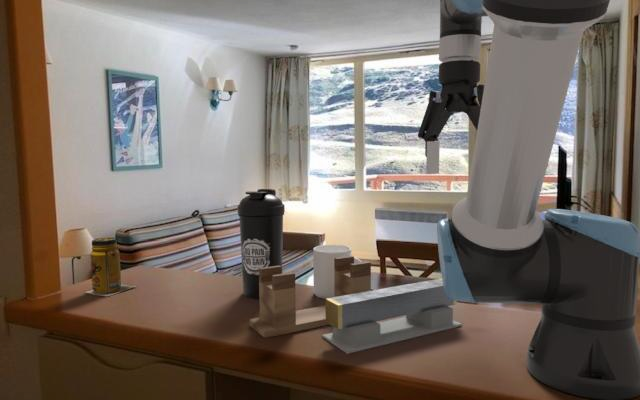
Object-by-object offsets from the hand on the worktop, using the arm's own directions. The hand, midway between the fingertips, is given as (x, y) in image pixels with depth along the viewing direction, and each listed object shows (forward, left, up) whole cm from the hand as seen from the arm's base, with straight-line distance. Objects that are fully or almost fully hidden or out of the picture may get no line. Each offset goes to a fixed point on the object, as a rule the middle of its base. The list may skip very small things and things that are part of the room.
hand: (456, 175), depth 98 cm
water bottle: (+30, +28, -27) cm, 49 cm away
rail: (-3, +17, -23) cm, 29 cm away
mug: (+20, +14, -27) cm, 36 cm away
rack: (+9, +26, -27) cm, 38 cm away
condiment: (+50, +57, -27) cm, 80 cm away
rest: (-3, +17, -27) cm, 32 cm away
